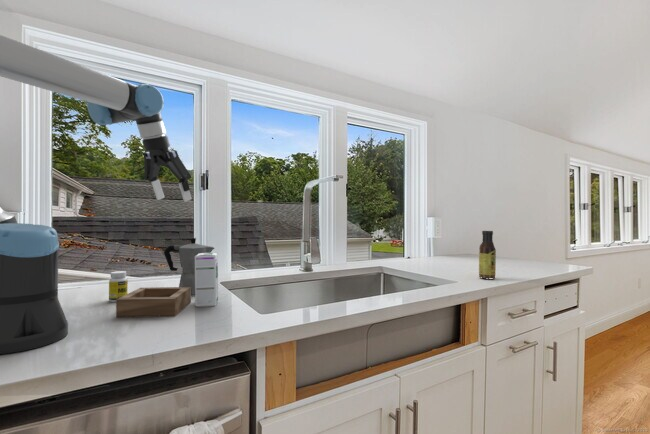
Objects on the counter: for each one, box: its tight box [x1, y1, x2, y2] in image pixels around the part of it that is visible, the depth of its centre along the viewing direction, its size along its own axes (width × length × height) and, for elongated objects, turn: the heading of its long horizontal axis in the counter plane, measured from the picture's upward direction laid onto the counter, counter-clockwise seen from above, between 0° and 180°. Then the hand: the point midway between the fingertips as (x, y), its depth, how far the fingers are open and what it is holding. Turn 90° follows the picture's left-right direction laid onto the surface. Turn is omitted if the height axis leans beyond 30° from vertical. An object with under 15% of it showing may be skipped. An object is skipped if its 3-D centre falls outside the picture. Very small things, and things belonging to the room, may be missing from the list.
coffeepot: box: [163, 237, 215, 296], centre depth 114 cm, size 15×9×18 cm, turn 108°
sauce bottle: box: [478, 230, 497, 279], centre depth 144 cm, size 6×6×20 cm
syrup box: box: [194, 252, 219, 308], centre depth 100 cm, size 6×6×14 cm
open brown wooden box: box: [115, 286, 192, 319], centre depth 94 cm, size 14×14×4 cm
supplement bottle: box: [108, 270, 129, 303], centre depth 103 cm, size 5×5×8 cm
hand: (174, 199), depth 118 cm, fingers open, 13 cm apart
